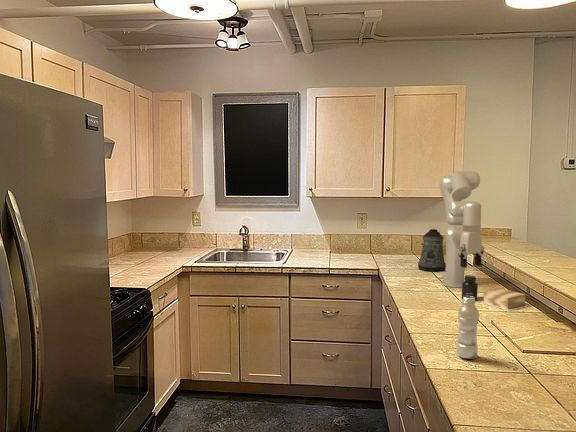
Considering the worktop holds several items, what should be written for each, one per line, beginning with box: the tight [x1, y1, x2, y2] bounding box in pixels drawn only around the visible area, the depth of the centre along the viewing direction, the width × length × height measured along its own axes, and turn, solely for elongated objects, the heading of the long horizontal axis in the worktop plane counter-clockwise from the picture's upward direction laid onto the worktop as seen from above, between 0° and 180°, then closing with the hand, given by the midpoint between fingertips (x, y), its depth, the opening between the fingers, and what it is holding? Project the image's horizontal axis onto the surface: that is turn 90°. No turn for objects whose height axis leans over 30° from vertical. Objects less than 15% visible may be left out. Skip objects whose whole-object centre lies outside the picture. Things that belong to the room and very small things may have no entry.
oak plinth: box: [483, 288, 526, 310], centre depth 204 cm, size 12×12×5 cm
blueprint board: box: [479, 300, 531, 312], centre depth 204 cm, size 16×14×1 cm
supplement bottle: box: [460, 274, 479, 302], centre depth 212 cm, size 7×7×12 cm
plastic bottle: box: [456, 296, 480, 360], centre depth 147 cm, size 6×7×20 cm
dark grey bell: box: [417, 228, 446, 273], centre depth 284 cm, size 16×19×25 cm
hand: (470, 266), depth 210 cm, fingers open, 9 cm apart
